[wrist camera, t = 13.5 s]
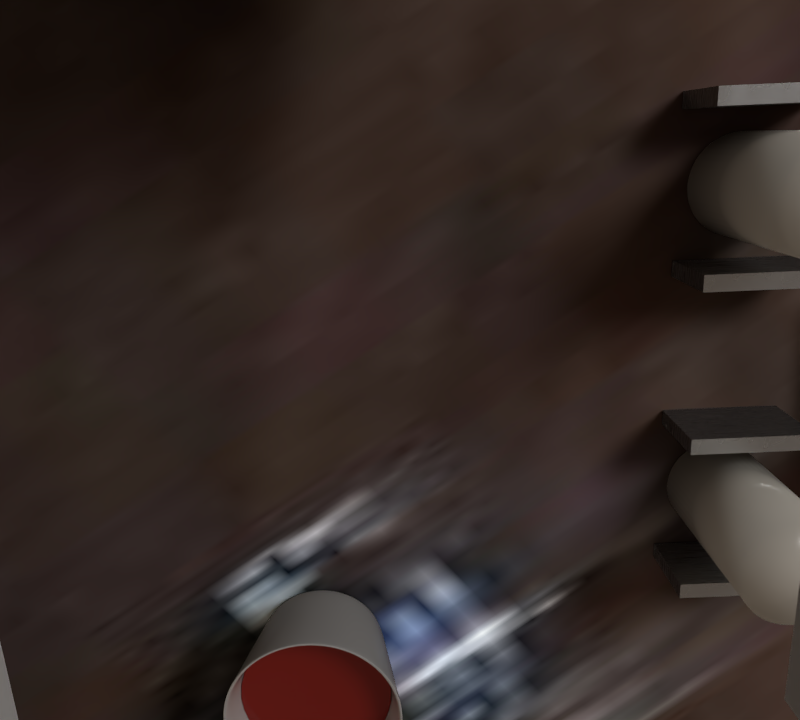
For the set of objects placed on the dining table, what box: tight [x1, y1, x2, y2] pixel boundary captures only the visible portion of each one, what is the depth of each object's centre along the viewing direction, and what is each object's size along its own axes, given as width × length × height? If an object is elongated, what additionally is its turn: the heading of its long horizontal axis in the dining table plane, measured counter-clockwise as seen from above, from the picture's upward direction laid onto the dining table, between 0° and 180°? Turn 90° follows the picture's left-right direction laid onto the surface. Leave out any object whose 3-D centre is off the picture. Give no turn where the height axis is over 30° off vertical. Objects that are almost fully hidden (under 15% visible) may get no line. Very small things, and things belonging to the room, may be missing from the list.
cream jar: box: [687, 130, 800, 259], centre depth 32 cm, size 5×5×9 cm
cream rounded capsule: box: [667, 452, 800, 625], centre depth 37 cm, size 5×5×9 cm
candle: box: [223, 590, 402, 720], centre depth 41 cm, size 9×9×6 cm
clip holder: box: [654, 82, 800, 598], centre depth 37 cm, size 25×6×4 cm, turn 2°
